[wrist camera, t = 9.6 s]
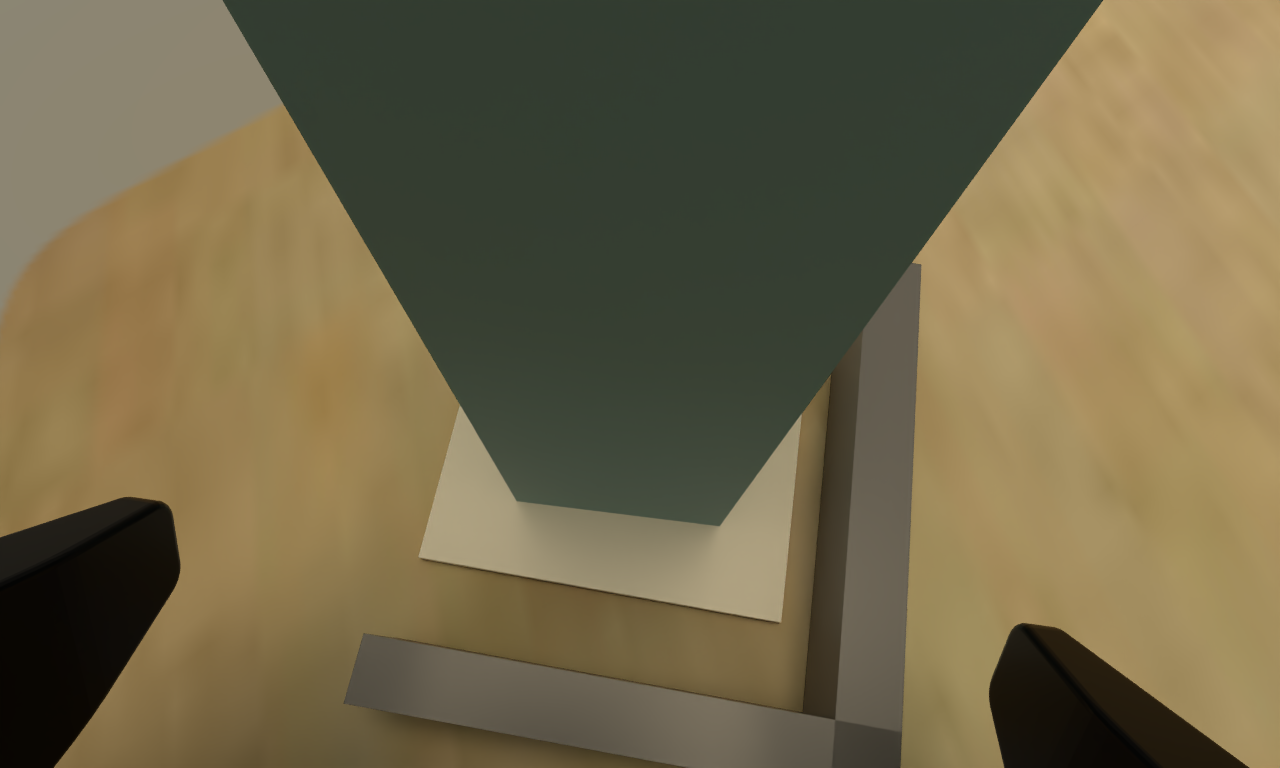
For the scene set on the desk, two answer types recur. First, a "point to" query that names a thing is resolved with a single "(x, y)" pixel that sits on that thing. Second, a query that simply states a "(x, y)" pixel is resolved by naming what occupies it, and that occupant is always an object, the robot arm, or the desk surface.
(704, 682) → the desk surface
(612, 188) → the teal block
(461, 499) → the corner arena
